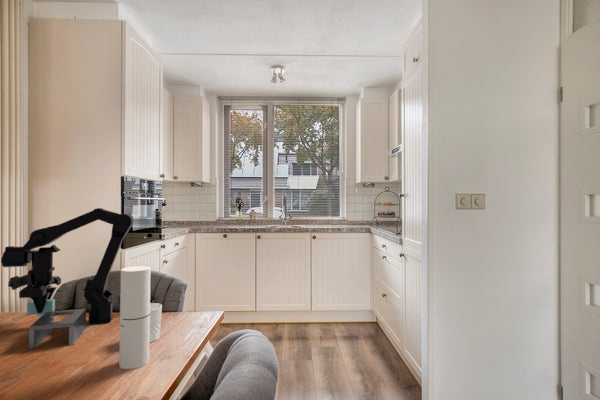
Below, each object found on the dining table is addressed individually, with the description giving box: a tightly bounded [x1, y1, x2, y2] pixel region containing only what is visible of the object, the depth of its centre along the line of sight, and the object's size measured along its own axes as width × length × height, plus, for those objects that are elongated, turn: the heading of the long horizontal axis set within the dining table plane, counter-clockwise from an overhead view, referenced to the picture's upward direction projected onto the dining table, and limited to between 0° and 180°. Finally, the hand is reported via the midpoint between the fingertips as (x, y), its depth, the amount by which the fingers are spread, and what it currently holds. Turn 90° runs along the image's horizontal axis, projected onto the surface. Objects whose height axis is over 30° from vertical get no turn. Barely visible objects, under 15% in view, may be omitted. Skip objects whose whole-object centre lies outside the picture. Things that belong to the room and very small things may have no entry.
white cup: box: [149, 302, 163, 343], centre depth 106 cm, size 8×8×10 cm
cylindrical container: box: [118, 265, 152, 370], centre depth 90 cm, size 7×7×25 cm
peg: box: [26, 298, 56, 322], centre depth 115 cm, size 7×4×8 cm, turn 110°
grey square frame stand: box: [28, 308, 87, 350], centre depth 105 cm, size 14×11×6 cm
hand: (41, 311), depth 115 cm, fingers closed on peg, 2 cm apart
